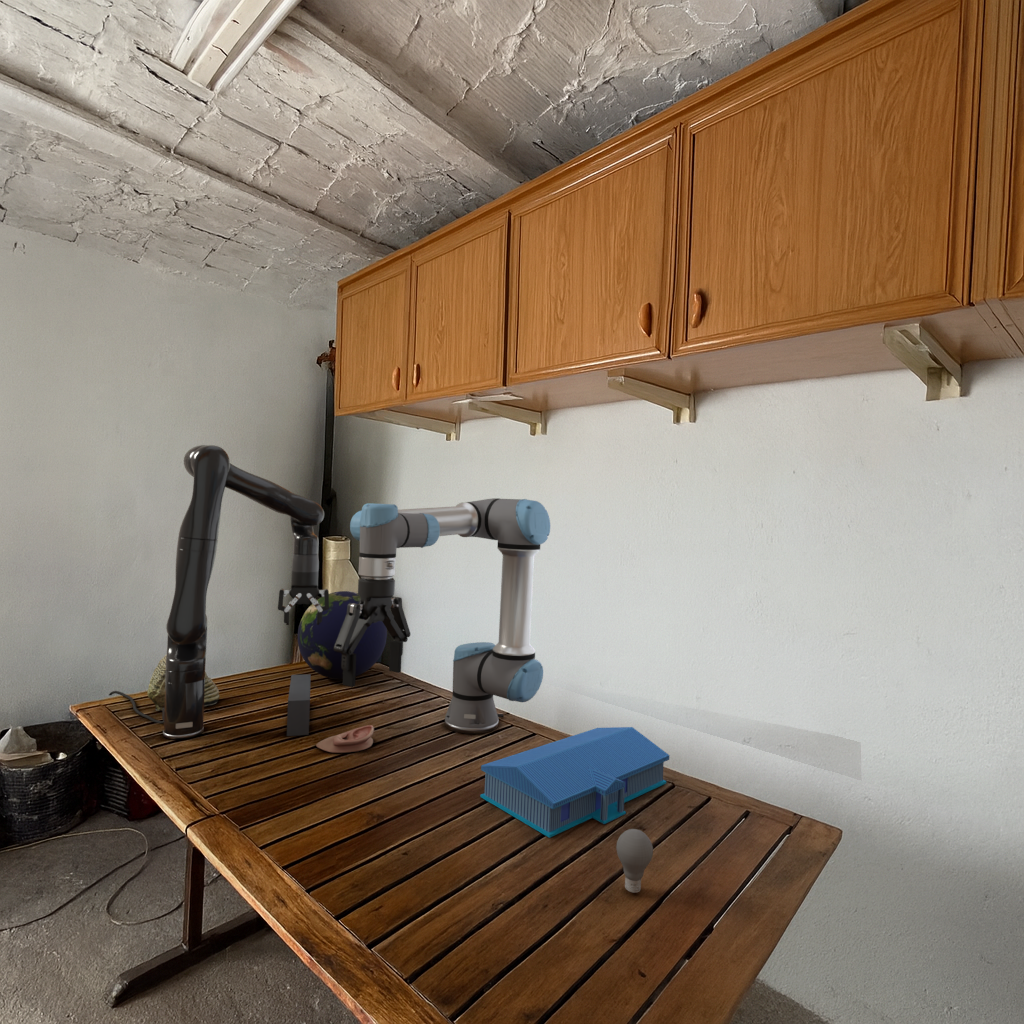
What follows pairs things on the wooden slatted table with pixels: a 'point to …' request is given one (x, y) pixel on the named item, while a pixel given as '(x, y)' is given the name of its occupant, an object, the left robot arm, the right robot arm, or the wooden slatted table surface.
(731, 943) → the wooden slatted table surface
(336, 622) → the globe
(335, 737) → the anatomical model
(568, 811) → the model building
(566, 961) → the wooden slatted table surface
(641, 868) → the light bulb
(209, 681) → the fossil
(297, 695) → the bar
